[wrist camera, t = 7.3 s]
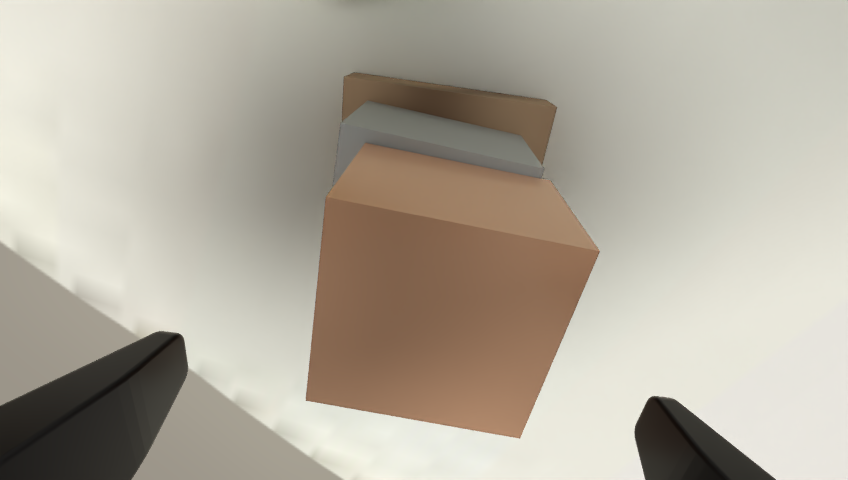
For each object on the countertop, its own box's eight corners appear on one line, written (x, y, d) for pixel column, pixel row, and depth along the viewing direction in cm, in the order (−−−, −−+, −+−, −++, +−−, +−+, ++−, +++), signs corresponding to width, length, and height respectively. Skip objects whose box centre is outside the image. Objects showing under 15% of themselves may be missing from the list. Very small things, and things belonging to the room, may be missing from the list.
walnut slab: (543, 98, 18) (557, 107, 16) (503, 261, 22) (510, 288, 19) (356, 71, 18) (343, 76, 16) (347, 239, 22) (335, 263, 19)
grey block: (521, 135, 16) (544, 168, 12) (479, 267, 19) (487, 330, 15) (367, 100, 16) (340, 122, 12) (347, 239, 19) (319, 295, 15)
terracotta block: (550, 180, 13) (599, 251, 9) (499, 328, 15) (520, 438, 11) (365, 142, 12) (325, 197, 8) (344, 299, 15) (305, 400, 11)
